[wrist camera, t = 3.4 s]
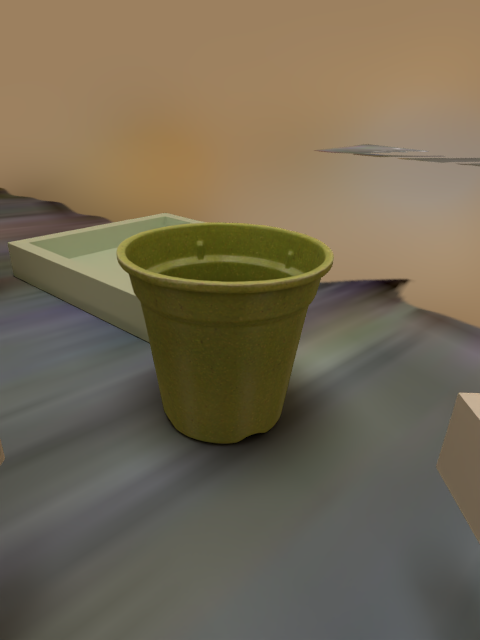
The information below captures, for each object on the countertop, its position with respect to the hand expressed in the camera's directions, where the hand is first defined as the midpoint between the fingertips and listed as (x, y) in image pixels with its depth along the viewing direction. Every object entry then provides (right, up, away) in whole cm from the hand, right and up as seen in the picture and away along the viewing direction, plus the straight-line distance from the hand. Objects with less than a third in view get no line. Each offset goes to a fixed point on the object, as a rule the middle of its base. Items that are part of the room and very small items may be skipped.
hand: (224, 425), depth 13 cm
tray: (-7, +7, +28) cm, 29 cm away
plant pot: (-1, -2, +11) cm, 11 cm away
